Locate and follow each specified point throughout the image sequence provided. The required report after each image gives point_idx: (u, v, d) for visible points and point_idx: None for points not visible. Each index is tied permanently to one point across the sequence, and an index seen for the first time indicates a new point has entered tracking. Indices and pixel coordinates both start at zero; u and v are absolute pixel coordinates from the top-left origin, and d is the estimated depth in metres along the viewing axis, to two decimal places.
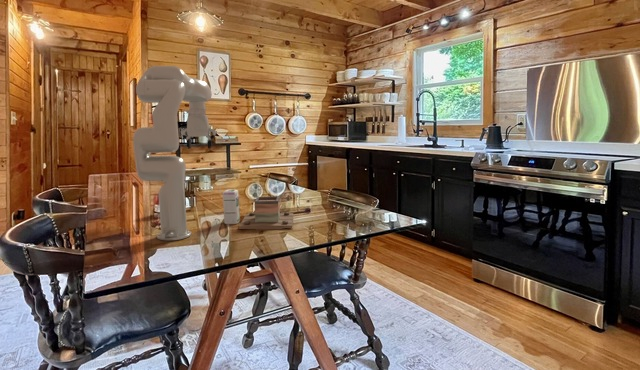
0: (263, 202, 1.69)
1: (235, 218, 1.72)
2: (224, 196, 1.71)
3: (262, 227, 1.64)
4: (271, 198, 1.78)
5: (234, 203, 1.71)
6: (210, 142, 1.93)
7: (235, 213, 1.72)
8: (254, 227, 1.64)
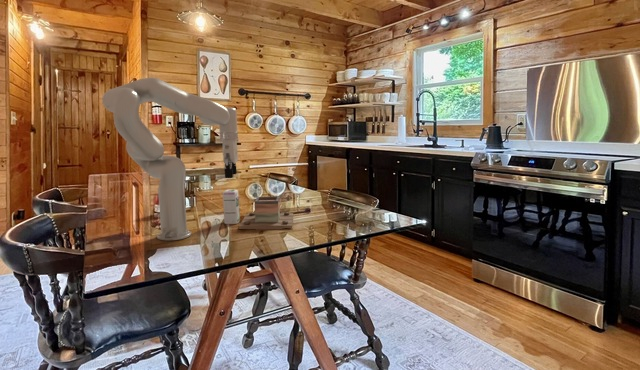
0: (263, 202, 1.69)
1: (235, 218, 1.72)
2: (224, 196, 1.71)
3: (262, 227, 1.64)
4: (271, 198, 1.78)
5: (234, 203, 1.71)
6: None
7: (235, 213, 1.72)
8: (254, 227, 1.64)
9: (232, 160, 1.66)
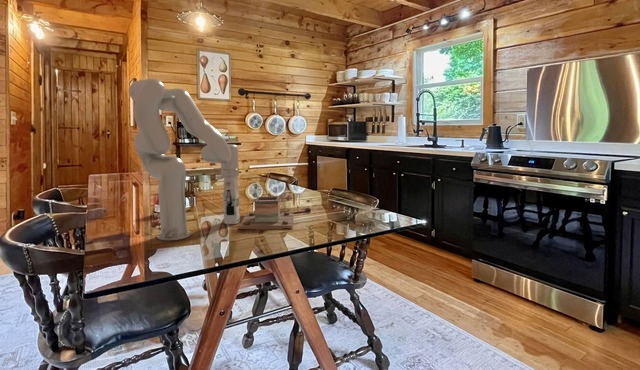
0: (263, 202, 1.69)
1: (235, 218, 1.72)
2: None
3: (262, 227, 1.64)
4: (271, 198, 1.78)
5: (234, 203, 1.71)
6: None
7: (235, 213, 1.72)
8: (254, 227, 1.64)
9: (233, 196, 1.69)
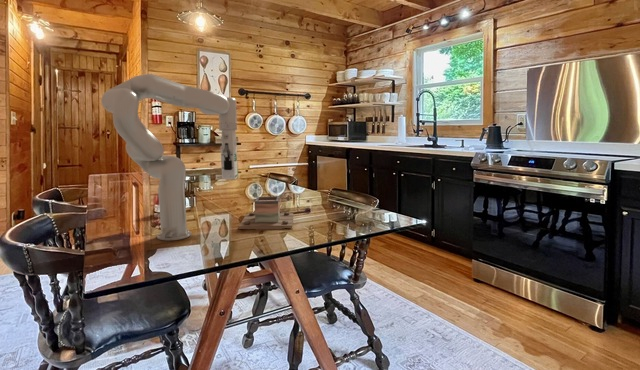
0: (263, 202, 1.69)
1: (233, 174, 1.69)
2: None
3: (262, 227, 1.64)
4: (271, 198, 1.78)
5: (232, 158, 1.68)
6: None
7: (233, 168, 1.69)
8: (254, 227, 1.64)
9: (231, 150, 1.65)
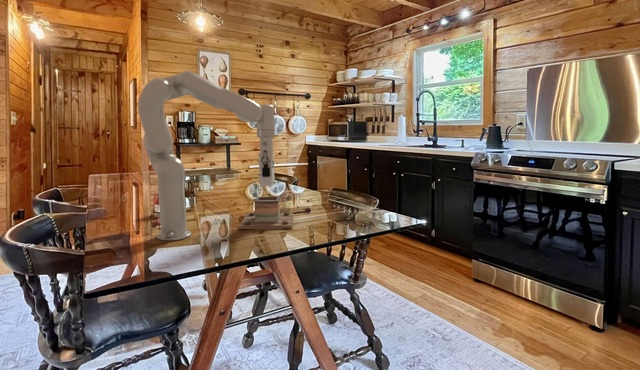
0: (263, 202, 1.69)
1: (271, 180, 1.69)
2: (260, 157, 1.68)
3: (262, 227, 1.64)
4: (271, 198, 1.78)
5: (270, 164, 1.68)
6: None
7: (271, 175, 1.69)
8: (254, 227, 1.64)
9: (269, 157, 1.66)
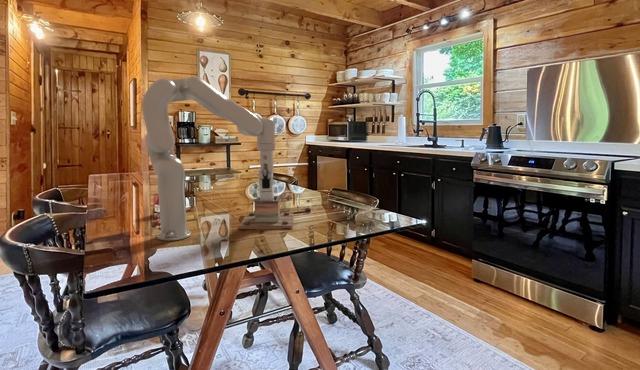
0: (263, 202, 1.69)
1: (271, 197, 1.71)
2: (260, 174, 1.69)
3: (262, 227, 1.64)
4: None
5: (270, 181, 1.69)
6: None
7: (271, 192, 1.70)
8: (254, 227, 1.64)
9: (270, 171, 1.67)
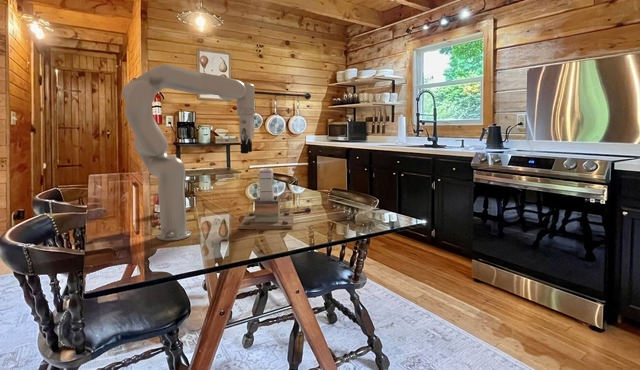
0: (263, 202, 1.69)
1: (271, 197, 1.71)
2: (260, 174, 1.69)
3: (262, 227, 1.64)
4: None
5: (270, 181, 1.69)
6: None
7: (271, 192, 1.70)
8: (254, 227, 1.64)
9: (248, 135, 1.66)
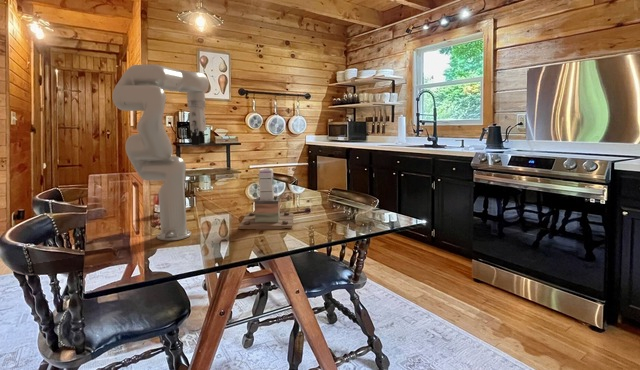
0: (263, 202, 1.69)
1: (271, 197, 1.71)
2: (260, 174, 1.69)
3: (262, 227, 1.64)
4: None
5: (270, 181, 1.69)
6: None
7: (271, 192, 1.70)
8: (254, 227, 1.64)
9: (199, 127, 1.71)
